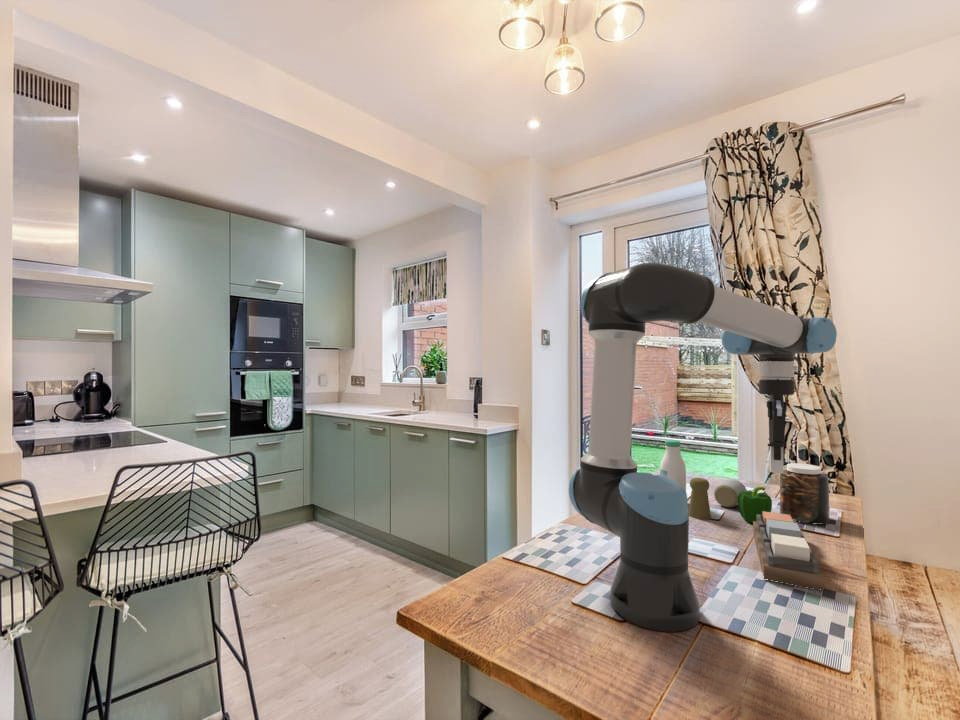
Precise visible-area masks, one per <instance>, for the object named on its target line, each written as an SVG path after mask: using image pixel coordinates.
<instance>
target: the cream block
mask: <svg viewBox="0 0 960 720" xmlns="http://www.w3.org/2000/svg"><path fill="white" fill-rule="evenodd" d="M805 539H806V537H804V538H799V537H792V536H786V535H779V534H772V533H771V548H772V551H773V554H774V556H779V557H785V558H791V559H797V560H803V561H810V549H811V548H810V546H808V545H809V543H808V541H807V540H805ZM806 541H807V542H806ZM807 543H808V544H807Z"/></svg>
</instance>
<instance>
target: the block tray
mask: <svg viewBox="0 0 960 720" xmlns="http://www.w3.org/2000/svg"><path fill="white" fill-rule="evenodd" d="M792 520H793V522H794V523H797V525H798V527H799V529H800V530H801V528H800V526H799V524H798V522H796V520H795V519H792ZM752 533H753V537H754V543H755V546H756V550H757V556H758V559H759V564H760V568H761V572H762V576H764V577H763V580H764V579H768V580H773V581H778V582H783V583H788V584H793V585H797V586H796V587H798V586H801V587H800V588H803V587H808V588H807V589H809V588H814V589H821V590H824V591H825V576H824V573H823V572H822V569H821V568H820V566H819V563H818V560H817V559H816V557H815V555H814V553H813V551H812V550H811V548H810V561H803V560H797V559H791V558H785V557H779V556H774V554H773V551H772V548H771V539H770V538H768V535H767V531H766V524H763V522H762V515H759V514H757V521H753V523H752ZM801 538H805V535H804V534H803V532H801ZM805 540H806V538H805ZM806 542H807V544H808V546H809V543H808V541H807V540H806ZM809 547H810V546H809ZM793 585H792V586H793ZM814 589H813V590H814Z"/></svg>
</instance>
